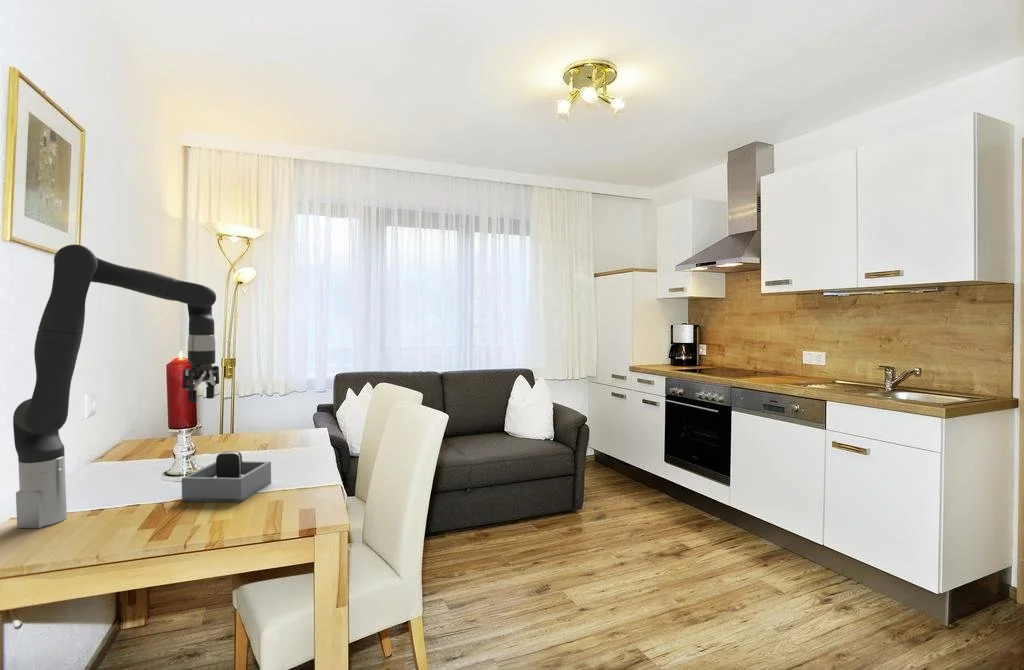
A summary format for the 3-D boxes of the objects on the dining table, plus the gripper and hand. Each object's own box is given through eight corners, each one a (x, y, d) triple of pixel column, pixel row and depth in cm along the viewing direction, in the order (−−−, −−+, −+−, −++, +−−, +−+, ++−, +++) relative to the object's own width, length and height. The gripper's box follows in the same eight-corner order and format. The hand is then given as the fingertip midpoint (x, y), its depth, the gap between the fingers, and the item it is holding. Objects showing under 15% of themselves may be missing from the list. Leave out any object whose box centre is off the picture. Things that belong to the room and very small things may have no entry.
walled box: (241, 502, 155) (241, 479, 155) (182, 501, 156) (181, 478, 155) (271, 482, 173) (270, 461, 173) (217, 481, 174) (217, 460, 173)
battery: (244, 485, 167) (243, 450, 167) (239, 489, 163) (238, 453, 163) (220, 486, 166) (220, 450, 166) (215, 490, 163) (215, 453, 162)
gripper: (198, 350, 158) (198, 404, 158) (226, 348, 172) (226, 397, 172) (174, 350, 158) (174, 403, 159) (204, 347, 172) (204, 396, 173)
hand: (201, 400), depth 166 cm, fingers open, 8 cm apart
